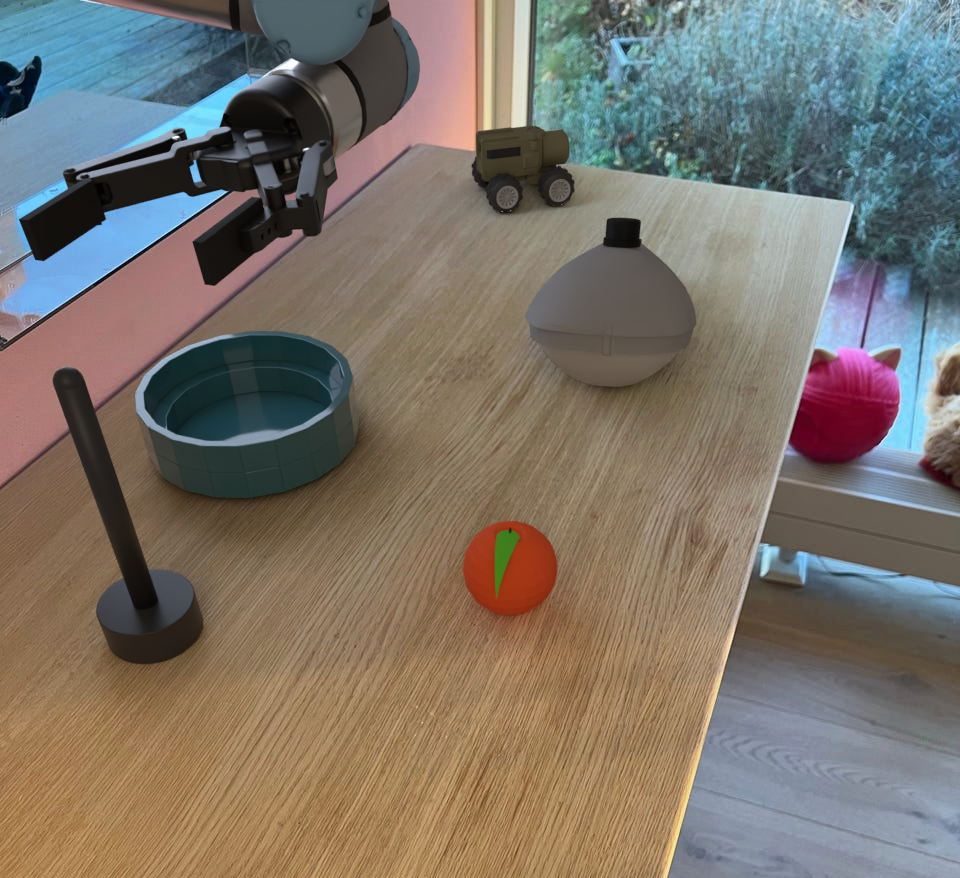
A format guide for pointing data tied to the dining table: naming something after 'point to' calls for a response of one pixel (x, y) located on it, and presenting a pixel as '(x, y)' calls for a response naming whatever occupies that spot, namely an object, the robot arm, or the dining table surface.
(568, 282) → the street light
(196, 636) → the black peg stand
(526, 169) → the toy vehicle
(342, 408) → the bowl
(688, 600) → the dining table surface
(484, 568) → the clementine
